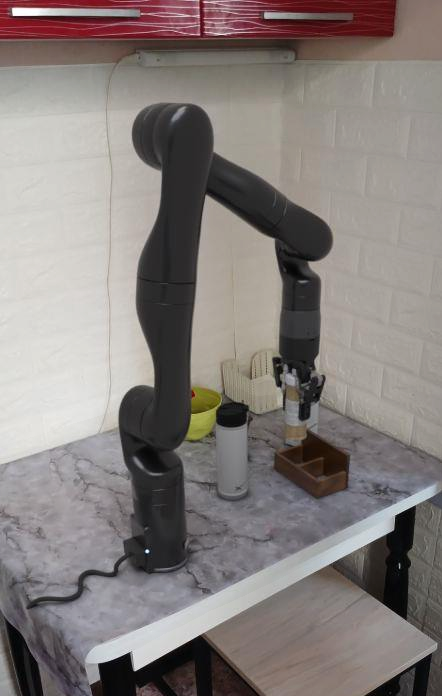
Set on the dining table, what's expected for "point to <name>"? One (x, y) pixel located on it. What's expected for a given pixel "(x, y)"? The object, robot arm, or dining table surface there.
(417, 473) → the dining table surface
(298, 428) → the brown spice jar
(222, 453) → the travel mug
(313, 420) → the syrup box
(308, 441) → the spice rack
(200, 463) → the dining table surface
